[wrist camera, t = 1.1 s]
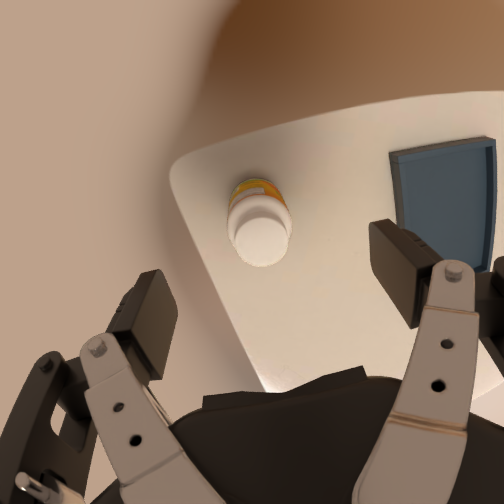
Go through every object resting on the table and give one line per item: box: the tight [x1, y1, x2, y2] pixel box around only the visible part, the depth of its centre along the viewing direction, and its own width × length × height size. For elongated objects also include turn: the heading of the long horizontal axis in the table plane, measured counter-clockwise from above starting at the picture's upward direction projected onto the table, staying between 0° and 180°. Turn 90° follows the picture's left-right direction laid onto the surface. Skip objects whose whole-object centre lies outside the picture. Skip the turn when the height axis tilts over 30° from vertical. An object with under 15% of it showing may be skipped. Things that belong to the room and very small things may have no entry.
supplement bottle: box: [227, 179, 292, 267], centre depth 26 cm, size 5×5×10 cm
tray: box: [389, 137, 497, 273], centre depth 31 cm, size 20×16×2 cm
